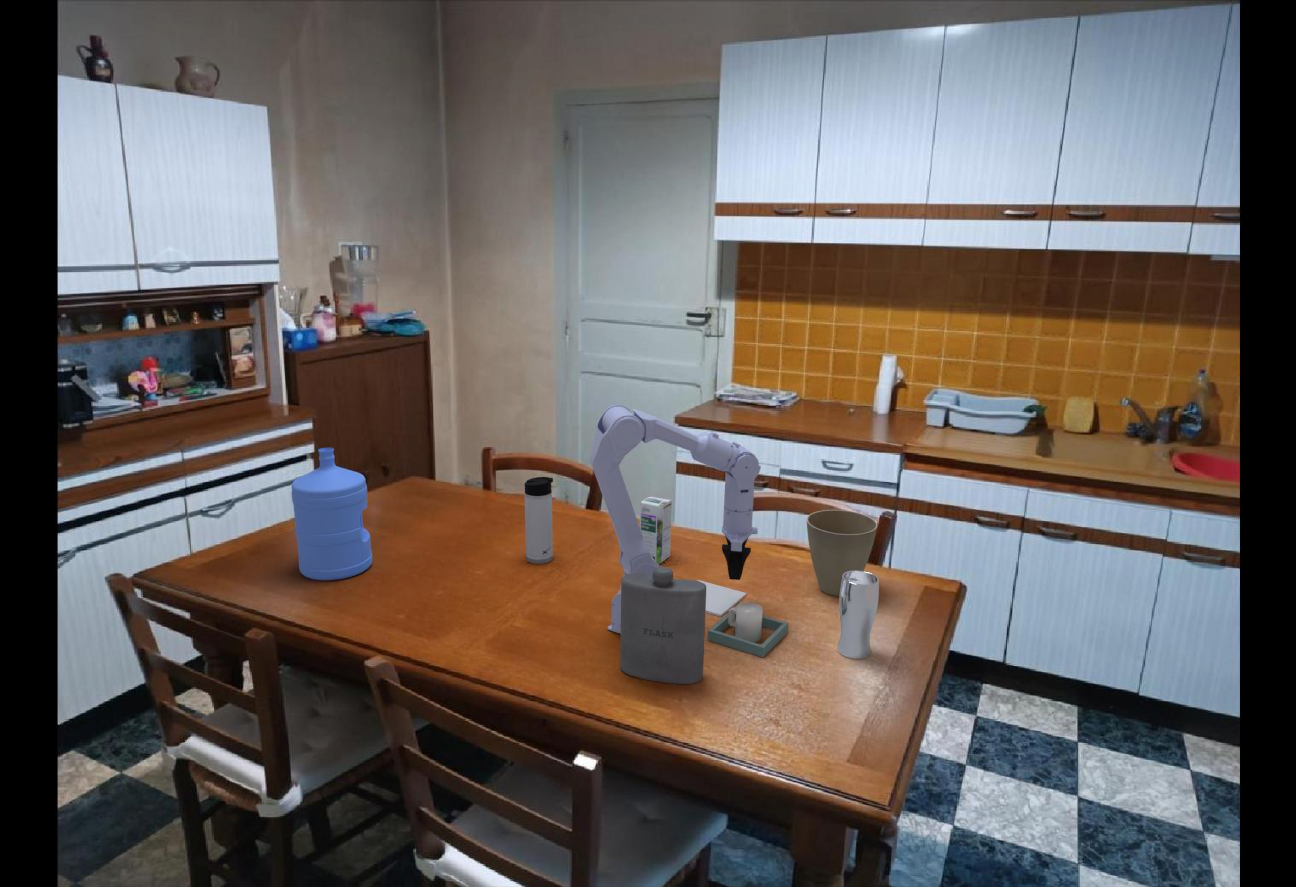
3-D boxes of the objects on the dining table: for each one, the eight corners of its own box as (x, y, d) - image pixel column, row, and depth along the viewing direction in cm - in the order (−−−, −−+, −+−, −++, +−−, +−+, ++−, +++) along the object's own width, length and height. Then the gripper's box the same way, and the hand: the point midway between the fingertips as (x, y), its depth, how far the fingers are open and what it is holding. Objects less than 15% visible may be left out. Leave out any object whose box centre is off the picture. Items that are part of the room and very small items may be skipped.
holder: (763, 657, 147) (763, 647, 147) (707, 640, 153) (707, 630, 152) (787, 632, 157) (788, 622, 156) (734, 616, 163) (734, 607, 162)
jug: (765, 634, 156) (767, 606, 154) (754, 645, 151) (755, 616, 150) (734, 625, 159) (736, 597, 157) (723, 635, 155) (724, 607, 153)
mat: (720, 617, 162) (720, 614, 162) (670, 602, 168) (670, 599, 168) (746, 595, 172) (746, 593, 172) (697, 581, 178) (697, 579, 178)
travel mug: (552, 564, 186) (551, 482, 181) (524, 564, 186) (522, 482, 181) (555, 554, 192) (554, 474, 187) (528, 553, 192) (526, 474, 187)
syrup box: (638, 559, 190) (639, 501, 186) (650, 551, 195) (651, 494, 191) (659, 564, 187) (661, 506, 183) (671, 556, 192) (672, 498, 188)
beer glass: (845, 638, 155) (851, 566, 151) (879, 650, 150) (886, 576, 147) (828, 652, 149) (834, 578, 146) (863, 665, 145) (870, 589, 141)
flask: (615, 676, 140) (616, 571, 135) (624, 659, 146) (625, 557, 140) (699, 689, 137) (703, 581, 132) (705, 671, 142) (709, 567, 137)
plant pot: (815, 569, 186) (820, 505, 181) (878, 584, 178) (885, 517, 174) (791, 593, 173) (796, 524, 169) (859, 611, 166) (866, 539, 162)
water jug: (324, 588, 172) (312, 463, 164) (285, 569, 181) (272, 450, 174) (386, 565, 184) (378, 448, 177) (347, 548, 193) (337, 436, 186)
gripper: (759, 521, 150) (755, 587, 154) (758, 496, 164) (754, 558, 167) (721, 519, 151) (718, 585, 154) (723, 494, 165) (721, 555, 168)
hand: (735, 571), depth 161 cm, fingers open, 7 cm apart
